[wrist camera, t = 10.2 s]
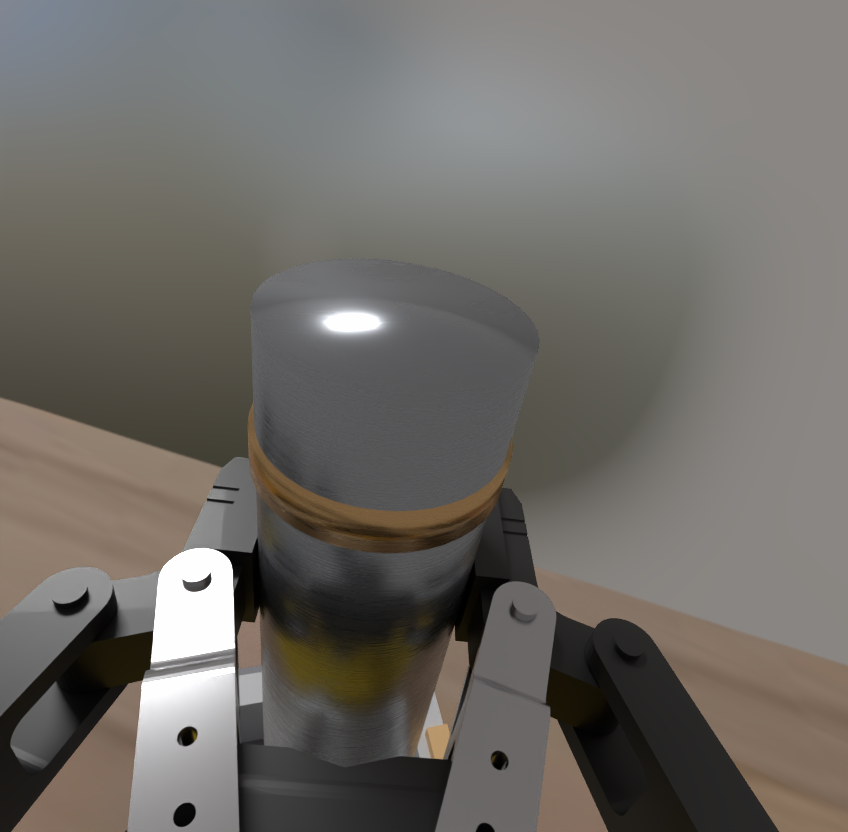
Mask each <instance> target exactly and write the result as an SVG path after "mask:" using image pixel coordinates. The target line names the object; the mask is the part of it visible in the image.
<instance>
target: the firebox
mask: <svg viewBox="0 0 848 832" xmlns="http://www.w3.org/2000/svg"><path fill="white" fill-rule="evenodd" d="M239 691H240V719H241V741H242V744H252V745H264V732H263V699H262V666H256V667H249V668H243V669H239ZM449 736H450V733H449V729H448V725H447V724H444V725H443V722H442V718H441V714H440V711H439V707H438V703H437V700H436V696H435V692H434V694H433V697H432V701H431V704H430V707H429V710H428V714H427V717H426V720H425V724H424V727H423V730H422V733H421V737H420V740H419V743H418V747H417V750H416V753H415V756H414V757H420V758H433V759H443V757H444V754H445V750H446V747H447V744H448V740H449Z"/></svg>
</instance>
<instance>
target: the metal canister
mask: <svg viewBox="0 0 848 832" xmlns="http://www.w3.org/2000/svg"><path fill="white" fill-rule="evenodd" d="M251 336H252V368H253V400H254V402H253V404H252V407H251V410H250V413H249V419H248V443H249V464H250V473H251V476H252V479H253V482H254V485H255V487H256V501H257V534H258V567H259V600H260V633H261V666H262V699H263V732H264V746H277V747H290V748H293V749H296V750H298V751H301V752H304V753H306V754H309V755H312V756H314V757H317V758H319V759H322V760H325V761H327V762H330V763H333V764H335V765H338V766H341V767H350V766H355V765H360V764H365V763H369V762H374V761H379V760H384V759H388V758H393V757H398V756H407V757H414V756H415V753H416V750H417V747H418V743H419V740H420V737H421V733H422V730H423V727H424V724H425V720H426V717H427V714H428V710H429V707H430V704H431V701H432V697H433V694H434V691H435V687H436V684H437V681H438V678H439V674H440V671H441V668H442V664H443V661H444V658H445V655H446V651H447V648H448V645H449V641H450V638H451V635H452V632H453V628H454V625H455V622H456V618H457V615H458V612H459V609H460V605H461V602H462V599H463V596H464V592H465V589H466V586H467V582H468V579H469V576H470V573H471V569H472V566H473V563H474V559H475V556H476V553H477V550H478V546H479V543H480V540H481V536H482V533H483V530H484V527H485V523H486V520H487V517H488V516H489V515H490V513H491V512H492V511H493V509H494V507H495V505H496V504H497V502H498V499H499V496H500V493H501V490H502V487H503V484H504V481H505V477H506V474H507V471H508V468H509V465H510V461H511V458H512V451H513V443H512V435H513V431H514V428H515V425H516V422H517V418H518V415H519V412H520V408H521V405H522V402H523V399H524V395H525V392H526V388H527V385H528V382H529V379H530V375H531V372H532V369H533V366H534V362H535V359H536V356H537V352H538V349H539V336H538V331H537V329H536V327H535V325H534V323H533V322H532V321H531V319H530V318H529V317H528V315H527V314H526V313H525V312H523V310H522V309H521V308H520V307H518V306H517V305H516V304H514V303H513V302H512V301H511V300H509V299H508V298H506V297H504V296H503V295H501V294H500V293H498V292H496V291H494V290H492V289H490V288H488V287H486V286H484V285H482V284H480V283H478V282H475V281H473V280H470V279H467V278H465V277H462V276H459V275H456V274H453V273H450V272H446V271H442V270H439V269H435V268H431V267H427V266H422V265H417V264H411V263H405V262H398V261H390V260H377V259H337V260H326V261H319V262H313V263H308V264H304V265H300V266H296V267H293V268H289V269H287V270H285V271H282V272H280V273H278V274H276V275H274V276H272V277H270V278H269V279H268V280H266V281H265V282H264V283H262V284H261V285H260V287H259V288H258V289H257V290H256V291H255V293H254V296H253V298H252V301H251Z"/></svg>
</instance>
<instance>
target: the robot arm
mask: <svg viewBox="0 0 848 832" xmlns="http://www.w3.org/2000/svg"><path fill="white" fill-rule="evenodd" d="M524 522H525V519H524V514H523V509H522V504H521V503H520V501H519V500H518V498H517V497H516V496H515V494H514V493H513V491H512V490H511V489H507V488H502V490H501V493H500V496H499V499H498V502H497V504H496V505H495V507H494V509H493V511H492V512H491V513H490V515H489V516H488V517H487V520H486V523H485V527H484V530H483V533H482V536H481V540H480V543H479V546H478V550H477V553H476V556H475V559H474V563H473V566H472V569H471V573H470V576H469V579H468V582H467V586H466V589H465V592H464V596H463V599H462V602H461V605H460V609H459V612H458V615H457V618H456V622H455V641H464V642H468V653H469V666H468V669H467V673H466V677H465V680H464V684H463V688H462V692H461V695H460V699H459V703H458V707H457V710H456V714H455V718H454V721H453V725H452V729H451V733H450V736H449V740H448V744H447V747H446V750H445V754H444V757H443V759H433V758H420V757H407V756H398V757H393V758H388V759H384V760H379V761H374V762H369V763H365V764H360V765H355V766H350V767H341V766H338V765H335V764H333V763H330V762H327V761H325V760H322V759H319V758H317V757H314V756H312V755H309V754H306V753H304V752H301V751H298V750H296V749H293V748H290V747H277V746H264V745H252V744H242V741H241V719H240V691H239V663H238V641H237V635H238V632H239V629H240V626H241V622H242V621H245V622H255V619H256V616H257V613H258V609H259V606H260V600H259V567H258V534H257V501H256V487H255V485H254V482H253V479H252V476H251V473H250V464H249V458H241V457H235V458H234V459H233V460H231V461H230V462H229V463H228V464H227V465H225V466H224V467H223V468H222V469H221V470H220V472H219V474H218V476H217V478H216V481H215V483H214V485H213V489H211V491H210V493H209V496H208V498H207V502H205V504H204V506H203V508H202V511H201V513H200V515H199V517H198V519H197V521H196V523H195V526H194V528H193V530H192V532H191V534H190V536H189V538H188V541H187V543H186V545H185V547H184V549H183V551H182V552H181V554H179V555H177V556H176V557H174V558H173V559H172V560H170V561H169V562H168V563H167V564H166V565H165V567H164V568H163V569H161V570H159V571H157V572H154V573H151V574H148V575H144V576H139V577H133V578H127V579H121V580H115V581H111V578H110V577H109V576H108V574H106V573H105V572H104V571H102V570H100V569H97V568H93V567H76V568H71V569H67V570H64V571H61V572H59V573H57V574H54V575H52V576H51V577H49V578H48V579H46V580H45V581H44V582H42V583H41V584H40V585H39V586H38V587H37V588H35V589H34V590H33V591H32V592H31V593H30V594H29V595H28V596H27V597H25V598H24V599H23V600H22V601H21V602H20V603H19V604H18V605H16V606H15V607H14V608H13V609H12V610H11V611H10V612H9V613H8V614H6V615H5V616H4V617H3V618H2V619H1V620H0V832H11V831H12V830H13V829H14V827H15V826H16V825H17V823H18V822H19V821H20V820H21V818H22V817H23V816H24V815H25V813H26V812H27V811H28V810H29V808H30V807H31V806H32V805H33V803H34V802H35V801H36V800H37V798H38V797H39V796H40V794H41V793H42V792H43V791H44V789H45V788H46V787H47V786H48V784H49V783H50V782H51V781H52V779H53V778H54V777H55V776H56V774H57V773H58V772H59V771H60V769H61V768H62V767H63V766H64V764H65V763H66V762H67V760H68V759H69V758H70V757H71V755H72V754H73V753H74V752H75V750H76V749H77V748H78V747H79V745H80V744H81V743H82V742H83V740H84V739H85V738H86V737H87V735H88V734H89V733H90V731H91V730H92V729H93V728H94V726H95V725H96V724H97V723H98V721H99V720H100V719H101V718H102V716H103V715H104V714H105V713H106V711H107V710H108V709H109V708H110V706H111V705H112V704H113V703H114V701H115V700H116V699H117V697H118V696H119V695H120V694H121V692H122V691H123V690H124V689H125V687H126V686H127V685H128V683H132V682H137V681H141V680H143V685H142V694H141V704H140V714H139V723H138V733H137V743H136V753H135V762H134V772H133V782H132V792H131V801H130V811H129V821H128V829H127V830H126V831H125V832H536V830H537V822H538V813H539V805H540V797H541V789H542V781H543V773H544V764H545V756H546V748H547V740H548V732H549V723H550V716H551V717H553V718H555V719H557V720H558V722H559V724H560V727H561V729H562V731H563V733H564V735H565V738H566V740H567V742H568V744H569V746H570V749H571V751H572V753H573V755H574V757H575V760H576V762H577V764H578V766H579V768H580V770H581V773H582V775H583V777H584V779H585V781H586V784H587V786H588V788H589V790H590V792H591V795H592V797H593V799H594V801H595V803H596V805H597V808H598V810H599V812H600V814H601V816H602V819H603V821H604V823H605V825H606V827H607V830H608V832H779V831H778V829H777V828H776V826H775V825H774V823H773V822H772V820H771V819H770V817H769V816H768V814H767V813H766V811H765V810H764V808H763V807H762V805H761V804H760V802H759V801H758V799H757V797H756V796H755V794H754V793H753V791H752V790H751V788H750V787H749V785H748V784H747V782H746V781H745V779H744V778H743V776H742V775H741V773H740V772H739V770H738V769H737V767H736V766H735V764H734V763H733V761H732V760H731V758H730V756H729V755H728V753H727V752H726V750H725V749H724V747H723V746H722V744H721V743H720V741H719V740H718V738H717V737H716V735H715V734H714V732H713V731H712V729H711V728H710V726H709V725H708V723H707V722H706V720H705V719H704V717H703V715H702V714H701V712H700V711H699V709H698V708H697V706H696V705H695V703H694V702H693V700H692V699H691V697H690V696H689V694H688V693H687V691H686V690H685V688H684V687H683V685H682V684H681V682H680V681H679V679H678V678H677V676H676V674H675V673H674V671H673V670H672V668H671V667H670V665H669V664H668V662H667V661H666V659H665V658H664V656H663V655H662V653H661V652H660V650H659V649H658V647H657V646H656V644H655V643H654V641H653V640H652V639H651V637H650V636H649V635H648V634H647V633H646V632H645V631H644V630H642V629H641V628H640V627H638V626H637V625H635V624H633V623H631V622H629V621H626V620H623V619H617V618H611V619H606V620H603V621H601V622H600V623H599V624H598V625H597V626H596V628H592V627H590V626H587V625H585V624H582V623H580V622H577V621H575V620H572V619H570V618H567V617H565V616H563V615H562V614H560V613H558V612H557V611H556V610H555V607H554V605H553V603H552V601H551V600H550V598H549V597H548V596H547V595H546V594H545V593H544V592H543V591H542V590H540V589H539V588H538V586H537V581H536V576H535V571H534V566H533V561H532V555H531V550H530V545H529V540H528V537H527V530H526V524H525V523H524Z"/></svg>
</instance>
